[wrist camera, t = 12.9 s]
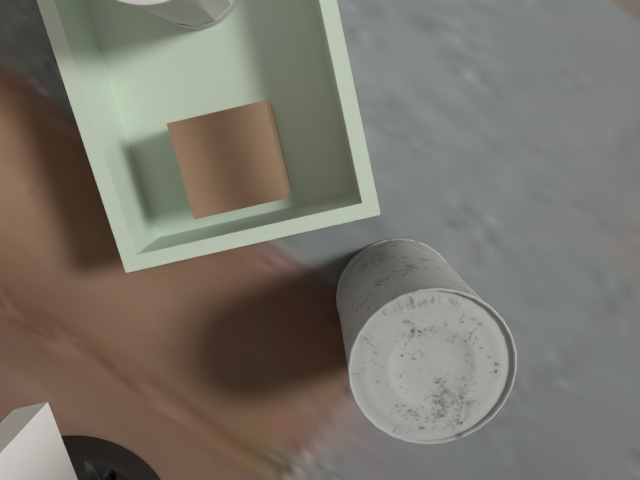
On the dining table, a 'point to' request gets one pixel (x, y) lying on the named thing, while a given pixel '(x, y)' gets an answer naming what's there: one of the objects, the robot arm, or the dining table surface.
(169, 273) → the dining table surface
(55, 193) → the dining table surface
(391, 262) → the white can
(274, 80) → the tote
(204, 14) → the cup
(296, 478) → the dining table surface
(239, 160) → the walnut block
